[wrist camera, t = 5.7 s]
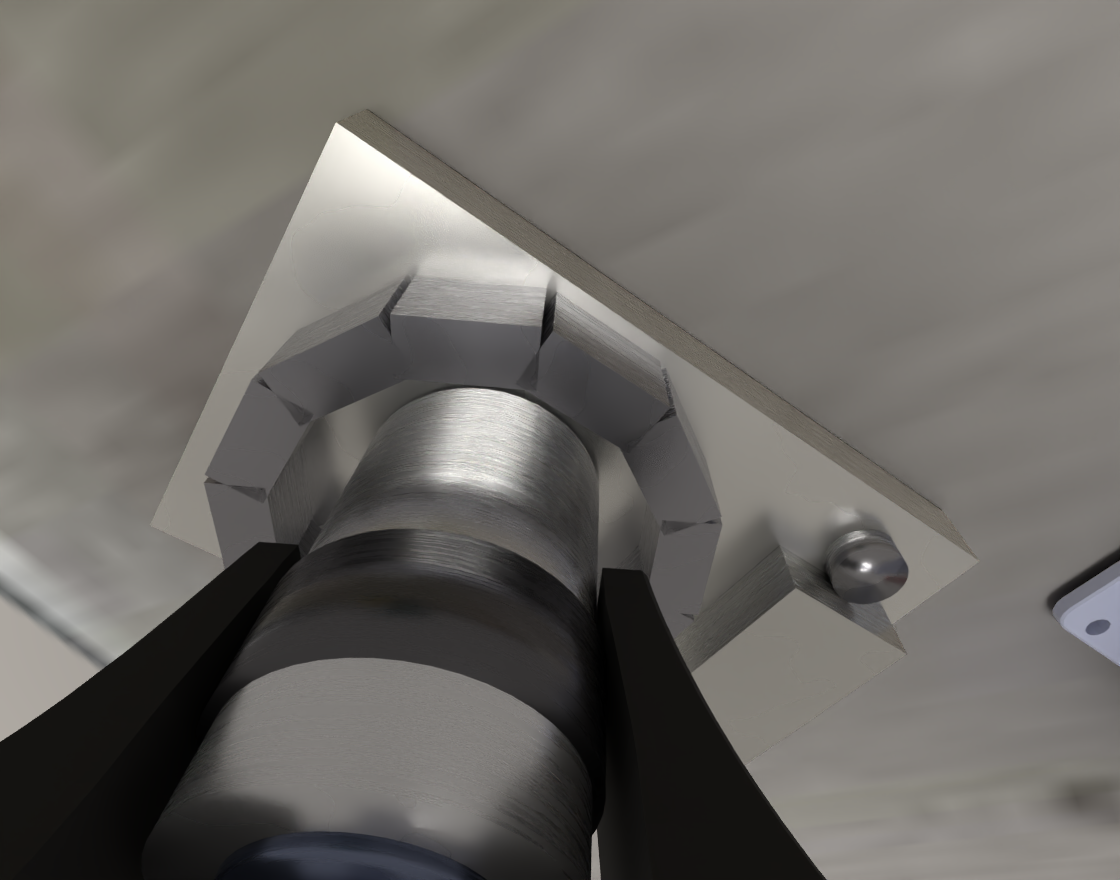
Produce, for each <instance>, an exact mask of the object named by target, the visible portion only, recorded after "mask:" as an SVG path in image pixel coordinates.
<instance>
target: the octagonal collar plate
mask: <svg viewBox="0 0 1120 880" xmlns="http://www.w3.org/2000/svg"><path fill="white" fill-rule="evenodd" d="M457 388H479V389H490V390H495V391H500V392H505V393H509V394H512V395H515V396H518V397H521V398H524V399H526V400H528V401H530V402H532V403H535V404H537V405H539V406H540V407H542V408H544V409H545V410H547V411H549V412H550V413H552V414H553V415H555V416H556V417H557V418H558V419H560V420H561V421H562V422H563V423H565V424H566V425H567V426H568V427H569V428H570V429H571V430H572V431H573V432H574V434H575V435H576V436H577V437H578V438H579V440H580V441H581V442H582V444H583V445H584V446H585V448H586V450H587V452H588V454H589V456H590V457H591V459H592V462H593V465H594V467H595V470H596V474H597V478H598V483H599V532H598V577H597V602H598V595H599V588H600V581H601V574H602V568H616V569H629V570H642V571H643V572H644V573H645V574H646V575H647V576H648V579H649V582H650V584H651V587H652V590H653V592H654V595H655V598H656V600H657V603H658V605H659V607H660V610H661V612H662V614H663V617H664V619H665V621H666V624H667V626H668V628H669V630H670V632H671V634H672V636H673V639H674V641H675V643H676V645H677V647H678V649H679V651H680V653H681V655H682V657H683V659H684V661H685V663H686V665H687V667H688V669H689V671H690V672H691V674H692V676H693V678H694V680H695V682H696V684H697V686H698V688H699V689H700V691H701V693H702V695H703V697H704V699H705V701H706V702H707V704H708V706H709V708H710V709H711V711H712V713H713V715H714V716H715V718H716V720H717V722H718V723H719V725H720V727H721V728H722V730H723V732H724V733H725V735H726V736H727V738H728V740H729V741H730V743H731V745H732V746H733V748H734V750H735V751H736V753H737V755H738V756H739V758H740V759H741V761H742V762H743V764H744V766H745V765H746V764H748V763H749V762H750V761H752V760H753V759H755V758H756V757H758V756H759V755H761V754H762V753H764V752H765V751H767V750H768V749H769V748H771V747H772V746H774V745H775V744H777V743H778V742H780V741H781V740H783V739H784V738H786V737H787V736H788V735H790V734H791V733H793V732H794V731H796V730H797V729H799V728H800V727H802V726H803V725H805V724H806V723H807V722H809V721H810V720H812V719H813V718H815V717H816V716H818V715H819V714H821V713H822V712H824V711H825V710H826V709H828V708H829V707H831V706H832V705H834V704H835V703H837V702H838V701H840V700H841V699H843V698H844V697H845V696H847V695H848V694H850V693H851V692H853V691H854V690H856V689H857V688H859V687H860V686H862V685H863V684H864V683H866V682H867V681H869V680H870V679H872V678H873V677H875V676H876V675H878V674H879V673H881V672H882V671H883V670H885V669H886V668H888V667H889V666H891V665H892V664H894V663H895V662H897V661H898V660H900V659H901V658H902V657H904V656H905V655H907V653H906V651H905V649H904V647H903V645H902V643H901V641H900V639H899V637H898V636H897V634H896V632H895V630H894V628H893V626H892V624H894V623H895V622H896V621H898V620H899V619H901V618H902V617H903V616H905V615H906V614H907V613H909V612H910V611H912V610H913V609H914V608H916V607H917V606H919V605H920V604H921V603H923V602H924V601H926V600H927V599H928V598H930V597H931V596H933V595H934V594H935V593H937V592H938V591H939V590H941V589H942V588H944V587H945V586H946V585H948V584H949V583H951V582H952V581H953V580H955V579H956V578H958V577H959V576H960V575H962V574H963V573H965V572H966V571H967V570H969V569H970V568H972V567H973V566H974V565H976V564H977V563H978V562H980V561H979V560H978V558H977V557H976V556H975V554H974V553H973V552H972V550H971V549H970V547H969V546H968V545H967V543H966V542H965V541H964V539H963V538H962V536H961V535H960V534H959V532H958V531H957V530H956V528H955V527H954V526H953V524H952V523H951V521H950V520H949V519H948V517H947V516H946V515H945V513H944V512H943V511H942V510H940V509H939V508H937V507H936V506H934V505H933V504H932V503H930V502H929V501H927V500H926V499H924V498H923V497H922V496H920V495H919V494H917V493H916V492H914V491H913V490H912V489H910V488H909V487H907V486H906V485H904V484H903V483H902V482H900V481H899V480H897V479H896V478H894V477H893V476H892V475H890V474H889V473H887V472H886V471H884V470H883V469H881V468H880V467H879V466H877V465H876V464H874V463H873V462H871V461H870V460H869V459H867V458H866V457H864V456H863V455H861V454H860V453H859V452H857V451H856V450H854V449H853V448H851V447H850V446H849V445H847V444H846V443H844V442H843V441H841V440H840V439H838V438H837V437H836V436H834V435H833V434H831V433H830V432H828V431H827V430H826V429H824V428H823V427H821V426H820V425H818V424H817V423H816V422H814V421H813V420H811V419H810V418H808V417H807V416H806V415H804V414H803V413H801V412H800V411H798V410H797V409H795V408H794V407H793V406H791V405H790V404H788V403H787V402H785V401H784V400H783V399H781V398H780V397H778V396H777V395H775V394H774V393H773V392H771V391H770V390H768V389H767V388H765V387H764V386H763V385H761V384H760V383H758V382H757V381H755V380H754V379H753V378H751V377H750V376H748V375H747V374H745V373H744V372H742V371H741V370H740V369H738V368H737V367H735V366H734V365H732V364H731V363H730V362H728V361H727V360H725V359H724V358H722V357H721V356H720V355H718V354H717V353H715V352H714V351H712V350H711V349H710V348H708V347H707V346H705V345H704V344H702V343H701V342H699V341H698V340H697V339H695V338H694V337H692V336H691V335H689V334H688V333H687V332H685V331H684V330H682V329H681V328H679V327H678V326H677V325H675V324H674V323H672V322H671V321H669V320H668V319H667V318H665V317H664V316H662V315H661V314H659V313H658V312H657V311H655V310H654V309H652V308H651V307H649V306H648V305H646V304H645V303H644V302H642V301H641V300H639V299H638V298H636V297H635V296H634V295H632V294H631V293H629V292H628V291H626V290H625V289H624V288H622V287H621V286H619V285H618V284H616V283H615V282H614V281H612V280H611V279H609V278H608V277H606V276H605V275H603V274H602V273H601V272H599V271H598V270H596V269H595V268H593V267H592V266H591V265H589V264H588V263H586V262H585V261H583V260H582V259H581V258H579V257H578V256H576V255H575V254H573V253H572V252H571V251H569V250H568V249H566V248H565V247H563V246H562V245H561V244H559V243H558V242H556V241H555V240H553V239H552V238H550V237H549V236H548V235H546V234H545V233H543V232H542V231H540V230H539V229H538V228H536V227H535V226H533V225H532V224H530V223H529V222H528V221H526V220H525V219H523V218H522V217H520V216H519V215H518V214H516V213H515V212H513V211H512V210H510V209H509V208H507V207H506V206H505V205H503V204H502V203H500V202H499V201H497V200H496V199H495V198H493V197H492V196H490V195H489V194H487V193H486V192H485V191H483V190H482V189H480V188H479V187H477V186H476V185H475V184H473V183H472V182H470V181H469V180H467V179H466V178H464V177H463V176H462V175H460V174H459V173H457V172H456V171H454V170H453V169H452V168H450V167H449V166H447V165H446V164H444V163H443V162H442V161H440V160H439V159H437V158H436V157H434V156H433V155H432V154H430V153H429V152H427V151H426V150H424V149H423V148H422V147H420V146H419V145H417V144H416V143H414V142H413V141H411V140H410V139H409V138H407V137H406V136H404V135H403V134H401V133H400V132H399V131H397V130H396V129H394V128H393V127H391V126H390V125H389V124H387V123H386V122H384V121H383V120H381V119H380V118H379V117H377V116H376V115H374V114H373V113H371V112H370V111H368V110H364V111H362V112H360V113H357V114H355V115H353V116H350V117H348V118H345V119H343V120H341V121H338V122H336V124H335V126H334V128H333V130H332V132H331V135H330V137H329V139H328V141H327V143H326V145H325V148H324V150H323V152H322V154H321V156H320V158H319V161H318V163H317V165H316V167H315V169H314V171H313V174H312V176H311V178H310V180H309V182H308V184H307V187H306V189H305V191H304V193H303V195H302V197H301V199H300V202H299V204H298V206H297V208H296V210H295V212H294V215H293V217H292V219H291V221H290V223H289V225H288V228H287V230H286V232H285V234H284V236H283V238H282V241H281V243H280V245H279V247H278V249H277V251H276V254H275V256H274V258H273V260H272V262H271V264H270V267H269V269H268V271H267V273H266V275H265V277H264V279H263V282H262V284H261V286H260V288H259V290H258V292H257V295H256V297H255V299H254V301H253V303H252V305H251V308H250V310H249V312H248V314H247V316H246V318H245V321H244V323H243V325H242V327H241V329H240V331H239V334H238V336H237V338H236V340H235V342H234V344H233V347H232V349H231V351H230V353H229V355H228V357H227V359H226V362H225V364H224V366H223V368H222V370H221V372H220V375H219V377H218V379H217V381H216V383H215V385H214V388H213V390H212V392H211V394H210V396H209V398H208V401H207V403H206V405H205V407H204V409H203V411H202V414H201V416H200V418H199V420H198V422H197V424H196V427H195V429H194V431H193V433H192V435H191V437H190V440H189V442H188V444H187V446H186V448H185V450H184V452H183V455H182V457H181V459H180V461H179V463H178V465H177V468H176V470H175V472H174V474H173V476H172V478H171V481H170V483H169V485H168V487H167V489H166V491H165V494H164V496H163V498H162V500H161V502H160V504H159V507H158V509H157V511H156V513H155V515H154V517H153V520H152V522H151V524H150V526H152V527H154V528H156V529H158V530H161V531H163V532H165V533H167V534H169V535H171V536H174V537H176V538H178V539H180V540H182V541H184V542H187V543H189V544H191V545H193V546H195V547H197V548H200V549H202V550H204V551H206V552H208V553H210V554H213V555H215V556H217V557H219V558H221V559H223V562H224V566H225V569H226V568H228V567H229V566H230V565H231V564H232V563H234V562H235V561H236V560H237V559H238V558H239V557H241V556H242V555H243V554H244V553H246V552H247V551H248V550H249V549H251V548H252V547H253V546H254V545H255V544H257V543H258V542H270V543H283V544H296V545H299V550H300V556H301V559H302V558H303V557H305V556H306V555H307V554H308V553H309V551H310V549H311V548H312V546H313V544H314V542H315V540H316V539H317V537H318V535H319V533H320V532H321V530H322V528H323V526H324V524H325V523H326V521H327V519H328V517H329V516H330V514H331V512H332V510H333V508H334V507H335V505H336V503H337V501H338V500H339V498H340V496H341V494H342V492H343V491H344V489H345V487H346V485H347V484H348V482H349V480H350V478H351V476H352V475H353V473H354V471H355V469H356V468H357V466H358V464H359V462H360V460H361V459H362V457H363V455H364V453H365V452H366V450H367V448H368V446H369V444H370V443H371V441H372V439H373V438H374V436H375V434H376V433H377V431H378V429H379V428H380V427H381V426H382V424H383V423H384V422H385V421H386V420H387V419H388V418H389V417H390V416H391V415H392V414H394V413H395V412H396V411H397V410H398V409H400V408H401V407H403V406H405V405H406V404H408V403H409V402H411V401H413V400H416V399H418V398H420V397H423V396H425V395H428V394H432V393H435V392H439V391H444V390H450V389H457Z"/></svg>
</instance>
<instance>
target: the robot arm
mask: <svg viewBox="0 0 1120 880" xmlns="http://www.w3.org/2000/svg"><path fill="white" fill-rule="evenodd" d="M300 560H301V556H300V550H299V545H296V544H283V543H270V542H258V543H257V544H255V545H254V546H253V547H252V548H251V549H249V550H248V551H247V552H246V553H244V554H243V555H242V556H241V557H239V558H238V559H237V560H236V561H235V562H234V563H232V564H231V565H230V566H229V567H228V568H226V569H225V570H224V571H223V572H222V573H220V574H219V575H218V576H217V577H216V578H215V579H213V580H212V581H211V582H210V583H209V584H208V585H206V586H205V587H204V588H203V589H202V590H200V591H199V592H198V593H197V594H196V595H194V596H193V597H192V598H191V599H190V600H189V601H187V602H186V603H185V604H184V605H183V606H181V607H180V608H179V609H178V610H177V611H175V612H174V613H173V614H172V615H170V616H169V617H168V618H167V619H166V620H164V621H163V622H162V623H161V624H159V625H158V626H157V627H156V628H154V629H153V630H152V631H151V632H150V633H148V634H147V635H146V636H145V637H143V638H142V639H141V640H140V641H139V642H137V643H136V644H135V645H134V646H132V647H131V648H130V649H128V650H127V651H126V652H125V653H123V654H122V655H121V656H119V657H118V658H117V659H115V660H114V661H113V662H112V663H110V664H109V665H108V666H106V667H105V668H104V669H102V670H101V671H100V672H98V673H97V674H96V675H94V676H93V677H92V678H90V679H89V680H88V681H86V682H85V683H84V684H82V685H81V686H80V687H78V688H77V689H76V690H75V691H73V692H72V693H71V694H69V695H68V696H66V697H65V698H64V699H63V700H61V701H60V702H58V703H57V704H55V705H54V706H52V707H51V708H50V709H48V710H47V711H45V712H44V713H43V714H41V715H40V716H38V717H37V718H35V719H34V720H32V721H31V722H29V723H28V724H27V725H25V726H24V727H22V728H21V729H19V730H18V731H16V732H15V733H13V734H12V735H10V736H9V737H7V738H5V739H4V740H2V741H1V742H0V880H144V877H143V873H142V853H143V849H144V846H145V843H146V841H147V839H148V837H149V835H150V834H151V832H152V830H153V828H154V826H155V825H156V823H157V821H158V819H159V818H160V816H161V814H162V812H163V810H164V809H165V807H166V805H167V803H168V802H169V800H170V798H171V796H172V794H173V793H174V791H175V789H176V787H177V786H178V784H179V782H180V780H181V778H182V777H183V775H184V773H185V771H186V770H187V768H188V766H189V764H190V762H191V761H192V759H193V757H194V755H195V754H196V752H197V747H196V736H197V727H198V724H199V721H200V717H201V714H202V712H203V710H204V709H205V707H206V705H207V703H208V702H209V700H210V698H211V697H212V695H213V693H214V692H215V690H216V688H217V686H218V685H219V683H220V681H221V680H222V678H223V676H224V674H225V673H226V671H227V669H228V668H229V666H230V664H231V663H232V661H233V659H234V657H235V656H236V654H237V652H238V651H239V649H240V647H241V645H242V644H243V642H244V640H245V639H246V637H247V635H248V634H249V632H250V630H251V628H252V627H253V625H254V623H255V622H256V620H257V618H258V617H259V615H260V613H261V611H262V610H263V608H264V606H265V605H266V603H267V601H268V599H269V598H270V596H271V594H272V593H273V591H274V589H275V588H276V586H277V584H278V583H279V581H280V580H281V578H282V577H283V576H284V575H285V574H286V573H287V572H288V570H289V569H290V568H291V567H292V566H293V565H294V564H296V563H297V562H298V561H300ZM1053 616H1054V617H1055V618H1056V620H1057V621H1058V622H1059V623H1060V625H1061V626H1062V627H1063V628H1064V629H1065V630H1066V631H1068V632H1069V633H1071V634H1072V635H1074V636H1075V637H1077V638H1078V639H1080V640H1081V641H1083V642H1084V643H1086V644H1087V645H1088V646H1090V647H1091V648H1093V649H1094V650H1096V651H1097V652H1099V653H1100V654H1102V655H1103V656H1105V657H1106V658H1108V659H1109V660H1111V661H1112V662H1114V663H1115V664H1117V665H1118V666H1120V560H1119V561H1118V562H1116V563H1115V564H1113V565H1112V566H1110V567H1109V568H1107V569H1106V570H1104V571H1103V572H1101V573H1099V574H1098V575H1096V576H1095V577H1093V578H1092V579H1090V580H1089V581H1087V582H1086V583H1084V584H1082V585H1081V586H1079V587H1078V588H1076V589H1075V590H1073V591H1072V592H1070V593H1069V594H1067V595H1065V596H1064V597H1062V598H1061V599H1060V600H1059V601H1058V602H1057V603H1056V605H1055V606H1054V608H1053ZM596 626H597V628H598V630H599V633H600V635H601V637H602V640H603V645H604V649H605V653H606V801H605V807H604V812H603V816H602V818H601V820H600V823H599V825H598V827H597V835H598V847H599V859H600V871H601V880H826V878H825V877H824V876H823V875H822V873H821V872H820V871H819V870H818V869H817V867H816V866H815V865H814V863H813V862H812V861H811V859H810V858H809V857H808V855H807V854H806V853H805V851H804V850H803V849H802V847H801V846H800V844H799V843H798V842H797V840H796V839H795V838H794V836H793V835H792V834H791V832H790V831H789V830H788V828H787V827H786V826H785V824H784V823H783V821H782V820H781V819H780V817H779V816H778V814H777V813H776V811H775V810H774V809H773V807H772V806H771V804H770V803H769V801H768V800H767V798H766V797H765V796H764V794H763V793H762V791H761V790H760V788H759V787H758V785H757V784H756V782H755V781H754V779H753V778H752V776H751V775H750V773H749V772H748V770H747V769H746V767H745V766H744V764H743V762H742V761H741V759H740V758H739V756H738V755H737V753H736V751H735V750H734V748H733V746H732V745H731V743H730V741H729V740H728V738H727V736H726V735H725V733H724V732H723V730H722V728H721V727H720V725H719V723H718V722H717V720H716V718H715V716H714V715H713V713H712V711H711V709H710V708H709V706H708V704H707V702H706V701H705V699H704V697H703V695H702V693H701V691H700V689H699V688H698V686H697V684H696V682H695V680H694V678H693V676H692V674H691V672H690V671H689V669H688V667H687V665H686V663H685V661H684V659H683V657H682V655H681V653H680V651H679V649H678V647H677V645H676V643H675V641H674V639H673V636H672V634H671V632H670V630H669V628H668V626H667V624H666V621H665V619H664V617H663V614H662V612H661V610H660V607H659V605H658V603H657V600H656V598H655V595H654V592H653V590H652V587H651V584H650V582H649V579H648V576H647V575H646V574H645V573H644V572H643V571H642V570H629V569H616V568H602V574H601V581H600V588H599V595H598V602H597V622H596Z"/></svg>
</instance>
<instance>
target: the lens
mask: <svg viewBox="0 0 1120 880" xmlns="http://www.w3.org/2000/svg"><path fill="white" fill-rule="evenodd" d="M598 532H599V483H598V478H597V474H596V470H595V467H594V465H593V462H592V459H591V457H590V456H589V454H588V452H587V450H586V448H585V446H584V445H583V444H582V442H581V441H580V440H579V438H578V437H577V436H576V435H575V434H574V432H573V431H572V430H571V429H570V428H569V427H568V426H567V425H566V424H565V423H563V422H562V421H561V420H560V419H558V418H557V417H556V416H555V415H553V414H552V413H550V412H549V411H547V410H545V409H544V408H542V407H540V406H539V405H537V404H535V403H532V402H530V401H528V400H526V399H524V398H521V397H518V396H515V395H512V394H509V393H505V392H500V391H495V390H490V389H479V388H457V389H450V390H444V391H439V392H435V393H432V394H428V395H425V396H423V397H420V398H418V399H416V400H413V401H411V402H409V403H408V404H406V405H405V406H403V407H401V408H400V409H398V410H397V411H396V412H395V413H394V414H392V415H391V416H390V417H389V418H388V419H387V420H386V421H385V422H384V423H383V424H382V426H381V427H380V428H379V429H378V431H377V433H376V434H375V436H374V438H373V439H372V441H371V443H370V444H369V446H368V448H367V450H366V452H365V453H364V455H363V457H362V459H361V460H360V462H359V464H358V466H357V468H356V469H355V471H354V473H353V475H352V476H351V478H350V480H349V482H348V484H347V485H346V487H345V489H344V491H343V492H342V494H341V496H340V498H339V500H338V501H337V503H336V505H335V507H334V508H333V510H332V512H331V514H330V516H329V517H328V519H327V521H326V523H325V524H324V526H323V528H322V530H321V532H320V533H319V535H318V537H317V539H316V540H315V542H314V544H313V546H312V548H311V549H310V551H309V553H308V554H307V555H306V556H305V557H303V558H302V559H301V560H300V561H298V562H297V563H296V564H294V565H293V566H292V567H291V568H290V569H289V570H288V572H287V573H286V574H285V575H284V576H283V577H282V578H281V580H280V581H279V583H278V584H277V586H276V588H275V589H274V591H273V593H272V594H271V596H270V598H269V599H268V601H267V603H266V605H265V606H264V608H263V610H262V611H261V613H260V615H259V617H258V618H257V620H256V622H255V623H254V625H253V627H252V628H251V630H250V632H249V634H248V635H247V637H246V639H245V640H244V642H243V644H242V645H241V647H240V649H239V651H238V652H237V654H236V656H235V657H234V659H233V661H232V663H231V664H230V666H229V668H228V669H227V671H226V673H225V674H224V676H223V678H222V680H221V681H220V683H219V685H218V686H217V688H216V690H215V692H214V693H213V695H212V697H211V698H210V700H209V702H208V703H207V705H206V707H205V709H204V710H203V712H202V714H201V717H200V721H199V724H198V727H197V736H196V747H197V752H196V754H195V755H194V757H193V759H192V761H191V762H190V764H189V766H188V768H187V770H186V771H185V773H184V775H183V777H182V778H181V780H180V782H179V784H178V786H177V787H176V789H175V791H174V793H173V794H172V796H171V798H170V800H169V802H168V803H167V805H166V807H165V809H164V810H163V812H162V814H161V816H160V818H159V819H158V821H157V823H156V825H155V826H154V828H153V830H152V832H151V834H150V835H149V837H148V839H147V841H146V843H145V846H144V849H143V853H142V873H143V877H144V880H591V846H592V835H593V833H594V832H595V830H596V829H597V827H598V825H599V823H600V820H601V818H602V816H603V812H604V807H605V801H606V653H605V649H604V645H603V640H602V637H601V635H600V633H599V630H598V628H597V626H596V622H597V577H598Z"/></svg>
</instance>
